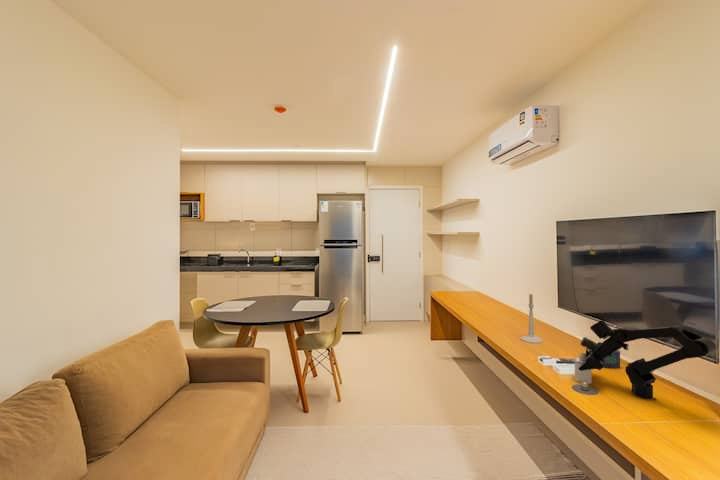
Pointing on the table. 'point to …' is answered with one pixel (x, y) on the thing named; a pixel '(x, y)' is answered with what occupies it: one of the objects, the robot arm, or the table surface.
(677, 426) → the table surface
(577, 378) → the rubber stamp
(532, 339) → the candlestick
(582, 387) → the stud
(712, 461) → the table surface
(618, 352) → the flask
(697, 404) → the table surface
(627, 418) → the table surface
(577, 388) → the gray disc
